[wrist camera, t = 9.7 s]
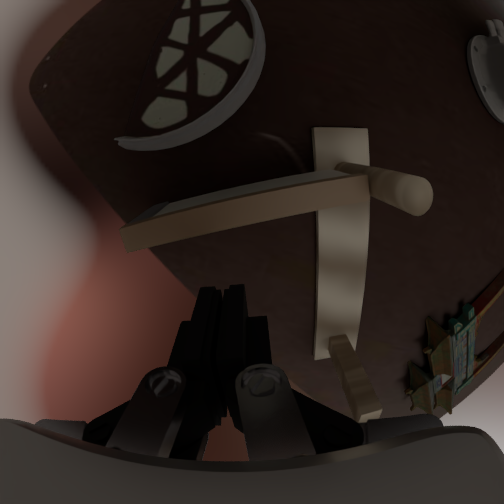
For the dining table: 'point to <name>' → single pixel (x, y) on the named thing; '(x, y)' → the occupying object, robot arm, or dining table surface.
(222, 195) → the panel
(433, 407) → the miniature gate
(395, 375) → the dining table surface
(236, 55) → the food container
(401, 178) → the gate frame
